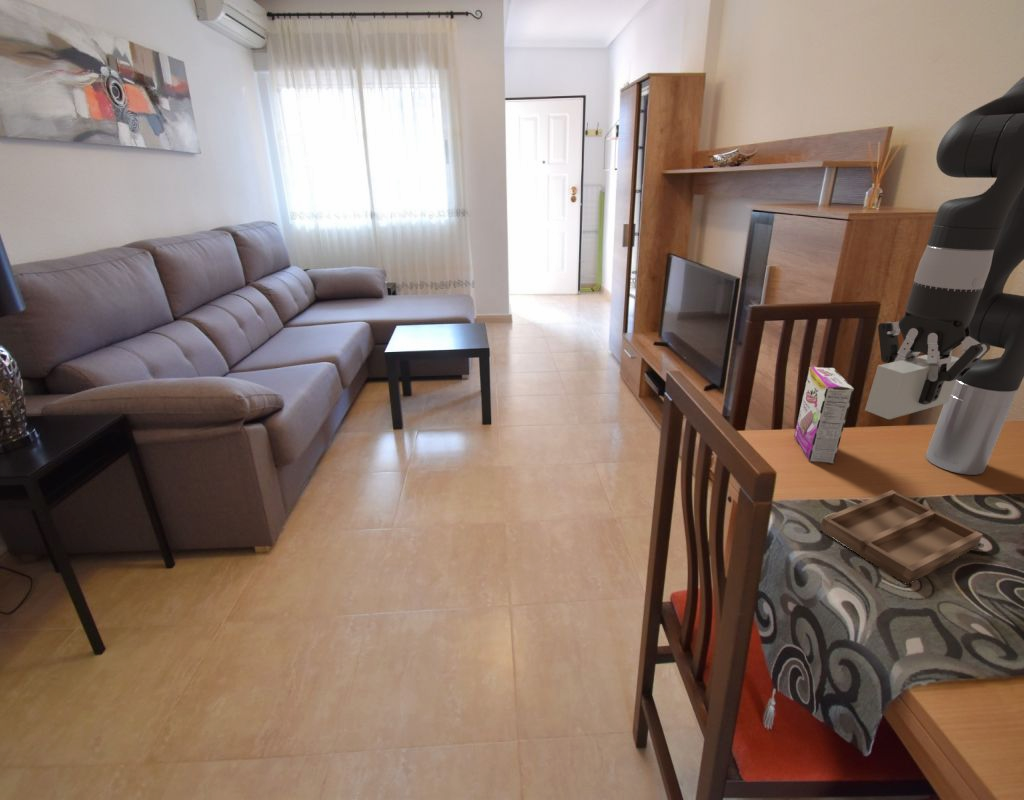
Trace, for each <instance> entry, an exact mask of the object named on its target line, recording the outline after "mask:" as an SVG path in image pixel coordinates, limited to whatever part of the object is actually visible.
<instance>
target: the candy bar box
mask: <svg viewBox="0 0 1024 800" xmlns="http://www.w3.org/2000/svg"><path fill="white" fill-rule="evenodd" d="M805 381H806V382H805V387H804V390H803V395H802V400H801V404H800V407H799V408H800V409H799V412H798V417H797V422H796V427H795V431H794V434H793V438H795V439H794V440H796V442H797V443H798V445H799V447H800V448H801V450H802V452H803V454H804V455H805V457H806V459H807V460H808V462H812V463H820V464H821V463H824V464H832V465H834V464H835V461H836V457H837V454H838V451H839V450H838V449H839V446H840V442H841V439H842V434H843V432H844V427H845V424H846V420H847V417H848V412H849V409H850V405H851V401H852V398H853V393H854V390H855V388H854V387H853V386H852V385H851V384H850V382H848V381H847V380H846V379H845V378H844V377H843V375H841V373H839V372H838V370H836V369H835V367H825V366H819V367H818V366H809V367H808V373H807V376H806V380H805Z"/></svg>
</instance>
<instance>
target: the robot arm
mask: <svg viewBox="0 0 1024 800" xmlns="http://www.w3.org/2000/svg"><path fill="white" fill-rule="evenodd" d="M935 160H936V164H937V167H938V169H939V170H940V171H941V173H943V174H944V175H946V176H947V177H951V178H959V179H960V178H963V179H969V178H970V179H971V178H973V179H974V178H977V179H981V178H982V179H985V178H986V179H995V178H996V179H995V180H994V182H993V183H992V185H991V186H990V187H989V188H988V189H987V190H985V191H984V192H982V193H980V194H977V195H974V196H965V197H959V198H952V199H949V200H946V201H944V202H943V203H942V204H941V205H940V206H939V208H938V210H937V213H936V215H935V218H934V221H933V225H932V228H931V231H930V235H929V238H928V241H927V245H926V247H925V249H924V251H923V253H922V256H921V258H920V261H919V263H918V266H917V269H916V271H915V274H914V278H913V283H912V286H911V289H910V292H909V295H908V296H909V297H908V298H907V303H906V305H905V312H904V315H903V317H901V318H900V319H899V321H893V320H892V321H886V322H880V323H879V324H878V325H877V330H878V338H879V339H878V340H879V341H878V342H879V350H880V358H881V361H882V362H883V363H884V364H887V363H891V362H896V361H900V360H907V359H909V358H915V357H918V356H919V354H921V353H922V354H924V355H928V356H927V364H928V365H929V367H930V368H929V371H928V380H926V381H925V384H924V387H923V390H922V393H921V396H920V399H919V403H920V404H923V405H926V404H930V403H931V402H933V401H936V400H937V399H938V397H939V394H940V391H941V388H942V385H943V383H944V381H953V380H956V381H955V384H954V387H953V390H952V392H951V395H950V398H949V401H948V403H945V404H942V405H943V406H942V409H941V411H940V415H939V417H938V419H937V423H936V425H935V428H934V431H933V434H932V437H931V439H930V442H929V444H928V447H927V451H926V454H925V458H926V459H927V461H928V462H930V463H931V464H933V465H934V466H936V467H939V468H940V469H943V470H946V471H949V472H952V473H957V474H960V475H969V476H970V475H971V476H973V475H975V476H976V475H977V476H978V475H981V474H983V473H985V470H986V468H987V465H988V463H989V462H990V459H991V456H992V454H993V451H994V448H995V447H996V444H997V441H998V439H999V436H1000V434H1001V432H1002V430H1003V427H1004V425H1005V422H1006V419H1007V417H1008V415H1009V413H1010V410H1011V408H1012V405H1013V403H1014V400H1015V398H1016V395H1017V394H1018V391H1019V389H1020V386H1021V384H1022V381H1023V380H1024V295H1019V294H1013V293H1007V292H1004V288H1005V286H1006V283H1007V282H1008V279H1009V278H1010V276H1011V275H1012V273H1013V271H1014V270H1015V269H1016V268H1017V267H1018V266H1019V265H1020V264H1021V263H1022V262H1023V261H1024V76H1022V77H1021V78H1020V79H1019V80H1018V81H1017V82H1016V83H1015V84H1013V86H1011V87H1010V89H1009V90H1007V91H1006V92H1005V94H1004V95H1003V94H1002V96H1000V97H998V98H995V99H994V100H993V99H992V100H991V101H990V102H987V103H984V104H983V105H981V106H979V107H978V108H976V109H974V110H972V111H970V112H968V113H967V114H965V115H964V116H962V117H960V118H959V119H958V120H957V121H956V122H955V123H954V124H953V125H951V126H950V128H949V129H948V130H947V131H946V133H945V134H944V136H943V137H942V139H941V140H940V142H939V145H938V147H937V150H936V158H935ZM900 334H901V335H902V338H903V342H902V344H901V345H900V346H899V337H898V335H900ZM960 345H962V348H961V350H960V354H961V356H960V357H958V358H959V359H958V360H957V361H956V362H955V364H954V365H953V366H952V367H951V368H950V369H949V370H948V368H949V363H950V362H951V358H952V356H953V350H954V349H956V348H957V347H958V346H960ZM991 347H996V348H1000V349H1004V351H1003V353H1002V355H1001V356H1000V357H996V358H989V359H988V358H987V359H985V358H983V357H984V356H985V355H986V354H987V353H988V352H989V351H990V349H991ZM982 358H983V359H982Z"/></svg>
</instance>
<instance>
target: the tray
mask: <svg viewBox="0 0 1024 800" xmlns="http://www.w3.org/2000/svg"><path fill="white" fill-rule="evenodd" d="M820 529H822V530H823V531H825V532H826V533H827V534H829V535H831V536H832V537H834V538H835V539H837V540H838V541H840V542H841V543H843V544H845V545H846V546H847V547H849V548H850V549H852V550H853V551H855V552H856V553H857V554H859V555H860V556H859V555H858V556H859V557H861V556H862V557H863V558H862V557H861V558H862V559H864V558H865V559H864V560H866V559H867V560H868V561H867V560H866V561H867V562H869V561H870V562H871V564H872V563H873V564H872V565H874V564H875V565H876V566H875V565H874V566H875V567H877V566H878V567H877V568H878V569H879V570H882V571H883V570H884V572H885V573H887V574H888V575H889V576H891V575H892V577H893V576H894V577H893V578H895V577H896V578H898V579H899V580H898V579H897V580H898V581H900V580H901V581H903V582H904V583H906V584H908V585H909V583H910V584H911V582H912V581H913V582H915V581H917V580H919V579H921V578H923V577H925V576H927V575H928V574H931V573H932V572H934V571H936V570H938V569H939V568H941V567H944V566H945V565H948V564H949V563H951V562H953V561H955V560H956V558H957V559H959V558H960V557H962V556H964V555H966V554H967V553H966V552H968V553H970V552H971V551H970V550H972V549H973V550H975V549H976V548H975V547H977V546H979V545H980V543H981V540H982V538H983V533H981V532H980V531H978V530H975V529H973V528H971V527H969V526H967V525H965V524H963V523H960V522H959V521H956V520H955V519H952V518H951V517H948V516H946V515H944V514H942V513H940V512H938V511H936V510H934V509H932V508H930V507H928V506H926V505H924V504H921V503H920V502H917V501H915V499H912V498H909V497H907V496H906V495H903V494H901V493H899V492H897V491H895V490H893V489H891V490H889V491H885V492H884V493H881V494H879V495H877V496H874V497H871V498H869V499H866V500H865V501H862V502H860V503H856V504H854V505H851V506H850V507H847V508H844V509H842V510H839V511H837V512H835V513H832V514H830V515H828V516H824V517H823V518H822V521H821V522H820V526H819V530H820ZM974 548H975V549H974ZM977 548H978V547H977ZM973 550H972V551H973ZM853 551H852V552H853ZM969 551H970V552H969ZM856 553H855V554H856ZM965 553H966V554H965ZM857 554H856V555H857ZM963 554H964V555H963ZM961 555H962V556H961ZM959 556H960V557H959ZM954 559H955V560H954ZM870 562H869V563H870ZM896 578H895V579H896ZM914 580H915V581H914ZM901 581H900V582H901ZM903 582H902V583H903ZM913 582H912V583H913ZM904 583H903V584H904ZM906 584H905V585H906Z"/></svg>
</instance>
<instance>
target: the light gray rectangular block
mask: <svg viewBox="0 0 1024 800" xmlns="http://www.w3.org/2000/svg"><path fill="white" fill-rule="evenodd" d="M927 356H928V355H926V354H924V355H917V356H916V357H915V358H909V359H907V360H900V361H896V362H891V363H887V362H886V363H883V364H882V363H881V364H878V365H877V368H876V371H875V374H874V378H873V381H872V385H871V389H870V391H869V394H868V398H867V402H866V404H865V408H864V411H866V412H867V413H868V412H869V413H872V414H873V415H876V416H878V417H882V418H884V419H887V420H892V419H896V418H900V417H903V416H907V415H909V414H913V413H917V412H921V411H924V410H927V409H930V408H934V407H938V406H941V405H944V404H945V403H948V401H949V398H950V395H951V392H952V390H953V387H954V384H955V381H956V380H953V381H944V383H943V385H942V388H941V391H940V394H939V397H938V399H937V400H936V401H933V402H931V403H930V404H926V405H923V404H920V403H919V399H920V396H921V393H922V390H923V387H924V384H925V381H926V380H928V371H929V368H930V367H929V365H928V364H927ZM959 358H960V357H957V356H953V355H952V358H951V362H950V363H949V368H948V370H949V369H950V368H951V367H952V366H953V365H954V364H955V362H956V361H957V360H958V359H959Z"/></svg>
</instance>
